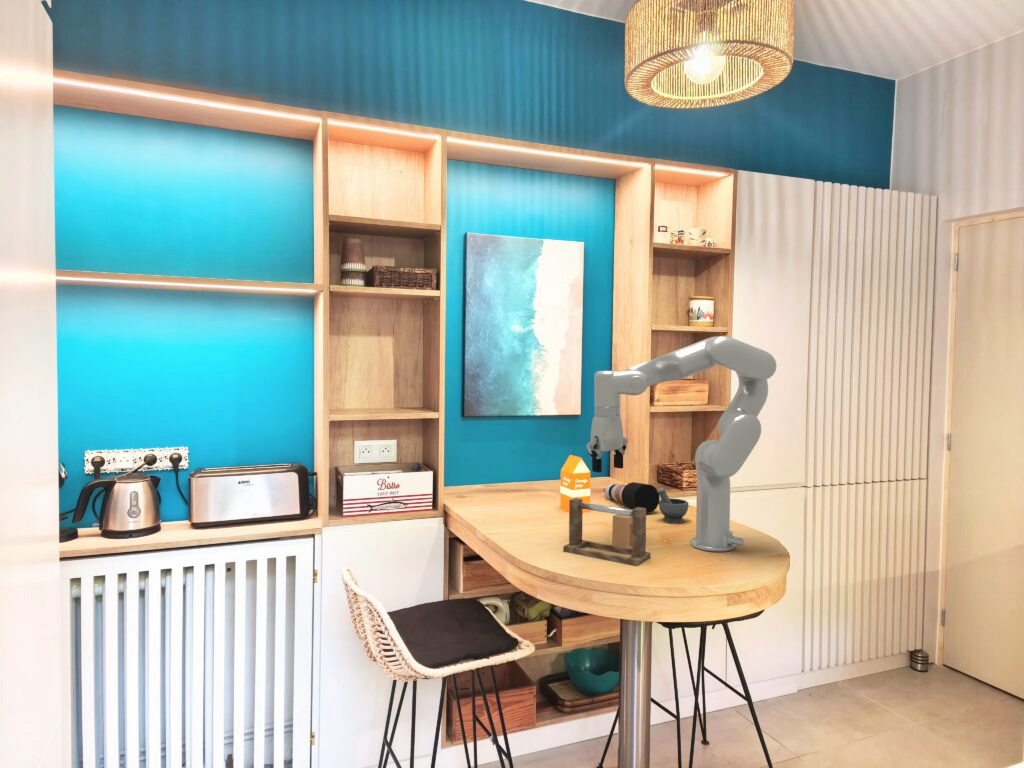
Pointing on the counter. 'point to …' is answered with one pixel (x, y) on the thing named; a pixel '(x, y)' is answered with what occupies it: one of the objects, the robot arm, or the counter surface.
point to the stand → (577, 544)
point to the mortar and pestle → (672, 507)
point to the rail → (605, 509)
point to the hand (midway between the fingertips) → (607, 469)
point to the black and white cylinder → (634, 495)
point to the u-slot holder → (622, 530)
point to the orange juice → (575, 482)
